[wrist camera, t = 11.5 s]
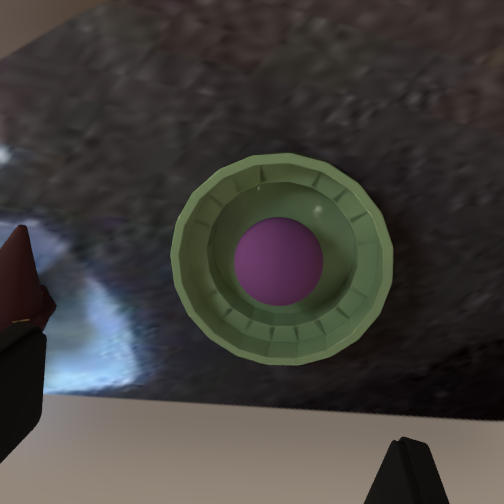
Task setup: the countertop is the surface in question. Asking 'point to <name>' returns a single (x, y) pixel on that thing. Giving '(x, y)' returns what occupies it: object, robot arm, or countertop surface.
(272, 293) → the ball
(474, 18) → the countertop surface
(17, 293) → the brown gnome figurine
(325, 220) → the bowl
